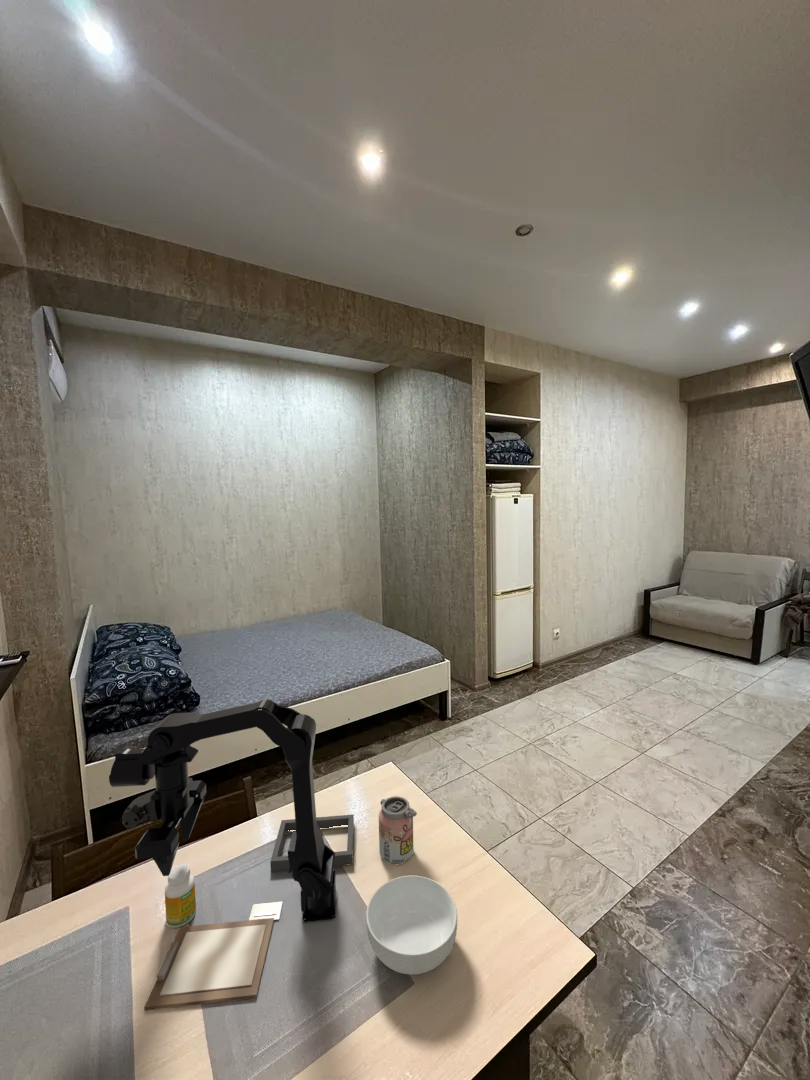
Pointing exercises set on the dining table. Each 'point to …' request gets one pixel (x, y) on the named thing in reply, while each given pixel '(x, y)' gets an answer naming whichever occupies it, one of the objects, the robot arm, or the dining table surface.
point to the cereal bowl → (411, 924)
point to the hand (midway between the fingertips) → (176, 856)
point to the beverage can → (396, 830)
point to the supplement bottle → (180, 896)
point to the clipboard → (212, 964)
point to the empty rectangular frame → (322, 822)
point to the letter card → (266, 911)
